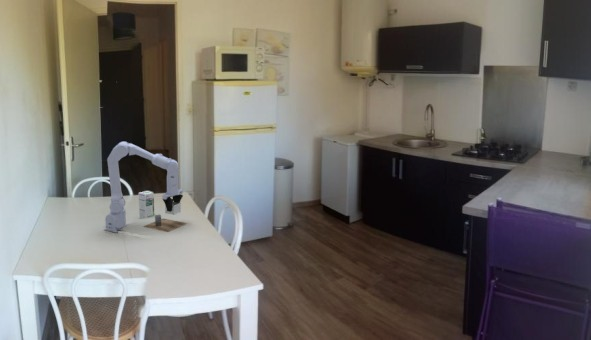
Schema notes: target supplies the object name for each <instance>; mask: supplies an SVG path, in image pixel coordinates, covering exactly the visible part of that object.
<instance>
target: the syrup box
mask: <svg viewBox="0 0 591 340" xmlns="http://www.w3.org/2000/svg"><path fill="white" fill-rule="evenodd" d="M154 194H155V193H154V191H151V190H144V191H142V192H141V191H140V192H138V207H139V210H138V213H139V216H138V217H139V219H142V220H143V219H145V218H149V217H153V216H154V217H155V196H154Z"/></svg>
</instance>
